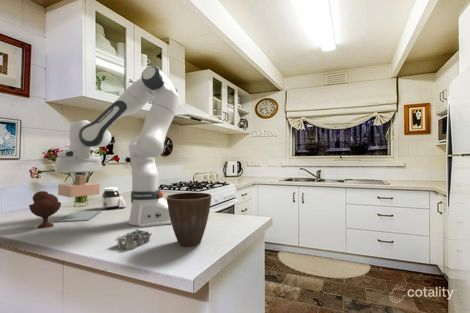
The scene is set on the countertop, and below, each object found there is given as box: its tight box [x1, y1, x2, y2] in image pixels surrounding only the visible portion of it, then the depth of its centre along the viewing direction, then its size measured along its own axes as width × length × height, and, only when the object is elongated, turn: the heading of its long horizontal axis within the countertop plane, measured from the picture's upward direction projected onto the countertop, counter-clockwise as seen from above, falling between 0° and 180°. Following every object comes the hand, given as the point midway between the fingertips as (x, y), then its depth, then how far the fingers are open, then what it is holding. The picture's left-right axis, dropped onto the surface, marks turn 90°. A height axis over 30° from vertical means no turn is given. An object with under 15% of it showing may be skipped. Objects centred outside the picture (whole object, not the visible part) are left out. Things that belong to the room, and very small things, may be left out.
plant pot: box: [165, 192, 212, 248], centre depth 86 cm, size 15×15×16 cm
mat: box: [53, 211, 102, 223], centre depth 124 cm, size 14×18×1 cm
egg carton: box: [114, 228, 153, 251], centre depth 85 cm, size 11×8×4 cm
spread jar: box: [101, 186, 127, 211], centre depth 145 cm, size 12×11×12 cm
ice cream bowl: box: [28, 190, 62, 229], centre depth 107 cm, size 11×11×15 cm
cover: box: [57, 174, 101, 198], centre depth 124 cm, size 13×13×10 cm
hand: (79, 181), depth 124 cm, fingers closed on cover, 3 cm apart
